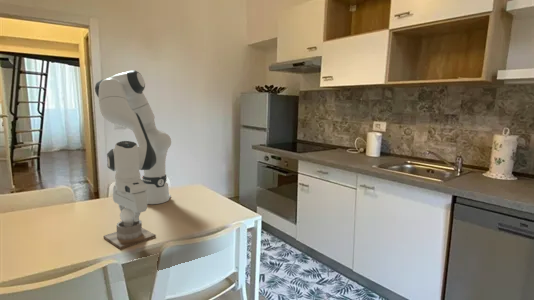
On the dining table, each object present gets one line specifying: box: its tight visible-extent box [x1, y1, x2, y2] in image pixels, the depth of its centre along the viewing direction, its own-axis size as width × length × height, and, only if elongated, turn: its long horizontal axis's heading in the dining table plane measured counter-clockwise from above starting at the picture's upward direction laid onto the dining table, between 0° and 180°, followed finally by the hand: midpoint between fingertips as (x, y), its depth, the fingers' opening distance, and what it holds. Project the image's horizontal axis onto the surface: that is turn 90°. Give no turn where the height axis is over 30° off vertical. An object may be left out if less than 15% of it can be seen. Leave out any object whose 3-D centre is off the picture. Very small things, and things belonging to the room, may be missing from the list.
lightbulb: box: [119, 207, 134, 227], centre depth 119 cm, size 6×6×11 cm
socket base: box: [103, 219, 157, 250], centre depth 119 cm, size 14×14×6 cm
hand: (129, 217), depth 118 cm, fingers open, 8 cm apart
